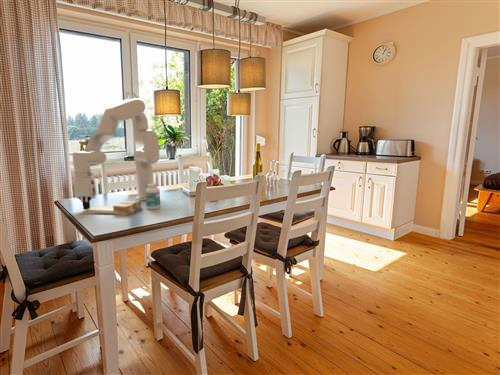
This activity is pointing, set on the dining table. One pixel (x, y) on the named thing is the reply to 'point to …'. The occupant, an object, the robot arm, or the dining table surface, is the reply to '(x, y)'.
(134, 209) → the overhang cubby
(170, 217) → the dining table surface
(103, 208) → the cover
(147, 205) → the pill bottle
